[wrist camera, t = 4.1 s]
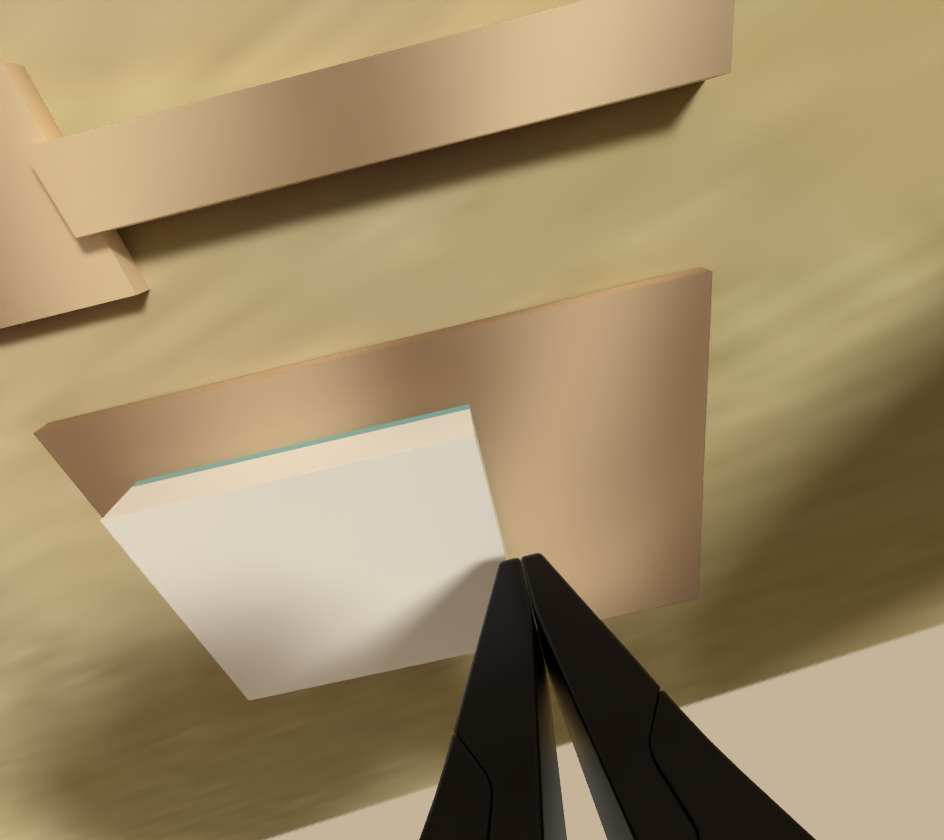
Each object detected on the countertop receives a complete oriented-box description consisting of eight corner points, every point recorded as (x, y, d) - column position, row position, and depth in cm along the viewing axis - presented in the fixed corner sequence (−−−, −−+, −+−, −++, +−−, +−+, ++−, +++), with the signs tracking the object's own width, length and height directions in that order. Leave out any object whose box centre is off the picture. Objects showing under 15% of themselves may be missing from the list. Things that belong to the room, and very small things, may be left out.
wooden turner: (707, -114, 6) (742, -151, 5) (700, 152, 8) (726, 150, 7) (-290, 153, 7) (-373, 151, 6) (-108, 352, 8) (-159, 369, 8)
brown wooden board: (700, 266, 9) (712, 271, 8) (690, 587, 13) (697, 599, 13) (48, 422, 9) (33, 433, 9) (252, 681, 13) (248, 694, 13)
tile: (474, 434, 8) (100, 520, 8) (526, 641, 11) (249, 700, 11) (469, 403, 9) (137, 481, 9) (518, 600, 12) (264, 655, 12)
